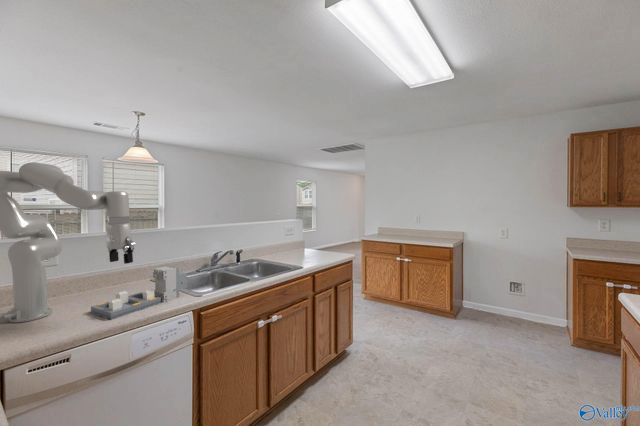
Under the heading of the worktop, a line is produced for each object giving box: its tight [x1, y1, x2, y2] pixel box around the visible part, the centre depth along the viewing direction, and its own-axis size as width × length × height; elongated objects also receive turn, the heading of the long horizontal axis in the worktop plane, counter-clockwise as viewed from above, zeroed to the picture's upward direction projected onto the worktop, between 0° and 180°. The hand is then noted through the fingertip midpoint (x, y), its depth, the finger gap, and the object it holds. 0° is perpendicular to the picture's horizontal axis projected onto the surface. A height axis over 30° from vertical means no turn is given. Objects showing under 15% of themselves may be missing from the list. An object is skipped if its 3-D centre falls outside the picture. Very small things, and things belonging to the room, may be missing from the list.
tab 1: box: [108, 298, 122, 311], centre depth 117 cm, size 4×3×5 cm
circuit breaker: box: [152, 265, 188, 303], centre depth 139 cm, size 8×14×15 cm, turn 155°
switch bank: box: [90, 291, 162, 320], centre depth 125 cm, size 21×15×3 cm
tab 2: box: [115, 290, 129, 304], centre depth 127 cm, size 4×3×5 cm
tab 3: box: [142, 288, 155, 300], centre depth 129 cm, size 4×3×5 cm
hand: (121, 262), depth 117 cm, fingers open, 9 cm apart
